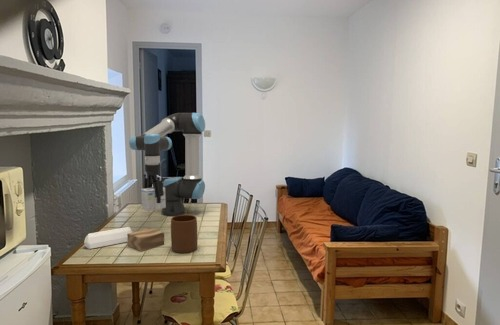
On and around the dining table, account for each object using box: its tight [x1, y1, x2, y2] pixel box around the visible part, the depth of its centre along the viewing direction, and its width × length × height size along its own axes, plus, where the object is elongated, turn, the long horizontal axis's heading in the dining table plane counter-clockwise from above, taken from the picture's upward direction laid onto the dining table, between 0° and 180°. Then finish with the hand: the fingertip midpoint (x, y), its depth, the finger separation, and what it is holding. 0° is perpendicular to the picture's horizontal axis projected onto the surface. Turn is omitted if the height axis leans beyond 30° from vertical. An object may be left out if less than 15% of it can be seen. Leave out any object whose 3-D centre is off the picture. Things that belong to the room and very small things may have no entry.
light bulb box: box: [140, 186, 166, 212], centre depth 198 cm, size 11×7×11 cm, turn 135°
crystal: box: [83, 226, 133, 250], centre depth 192 cm, size 7×7×24 cm
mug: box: [170, 212, 198, 254], centre depth 187 cm, size 20×12×15 cm, turn 3°
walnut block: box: [127, 227, 165, 252], centre depth 189 cm, size 12×13×6 cm
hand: (153, 207), depth 198 cm, fingers closed on light bulb box, 7 cm apart
